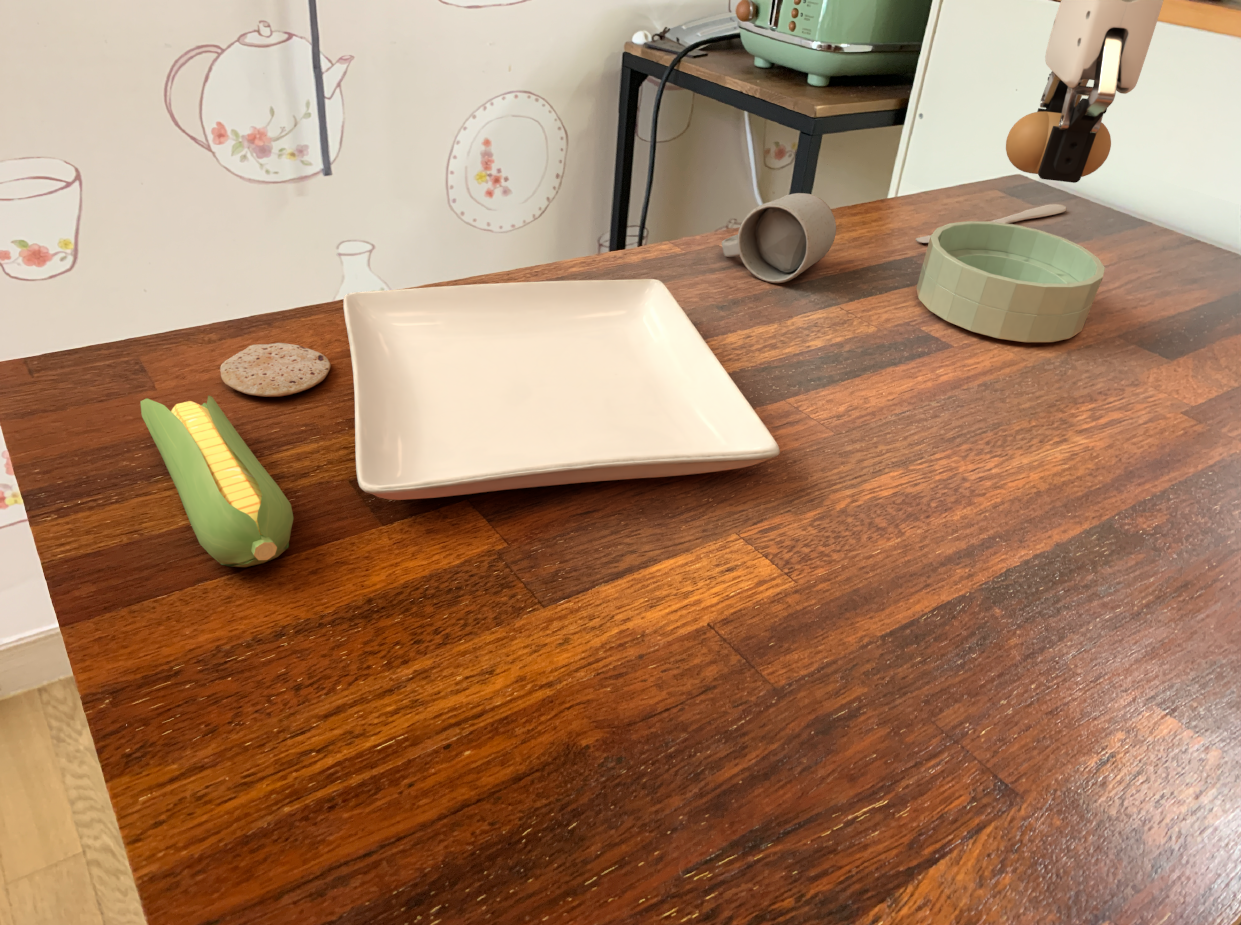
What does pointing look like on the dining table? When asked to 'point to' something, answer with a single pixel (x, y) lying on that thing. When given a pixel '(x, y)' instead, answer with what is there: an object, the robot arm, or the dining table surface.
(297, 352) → the flatbread
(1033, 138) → the tan rounded oval piece
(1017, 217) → the butter knife
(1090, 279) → the bowl
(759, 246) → the ceramic mug
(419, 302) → the square plate
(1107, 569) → the dining table surface
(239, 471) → the edible corn
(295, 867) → the dining table surface
